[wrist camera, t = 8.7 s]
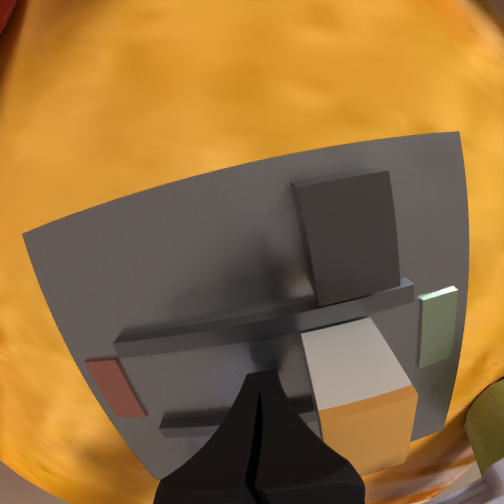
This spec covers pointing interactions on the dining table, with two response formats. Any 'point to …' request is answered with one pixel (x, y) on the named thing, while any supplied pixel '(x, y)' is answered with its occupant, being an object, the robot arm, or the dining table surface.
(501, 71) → the dining table surface
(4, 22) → the mixing bowl
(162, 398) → the panel
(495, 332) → the dining table surface
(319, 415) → the white orange block
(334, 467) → the robot arm
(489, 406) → the plant pot
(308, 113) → the dining table surface
